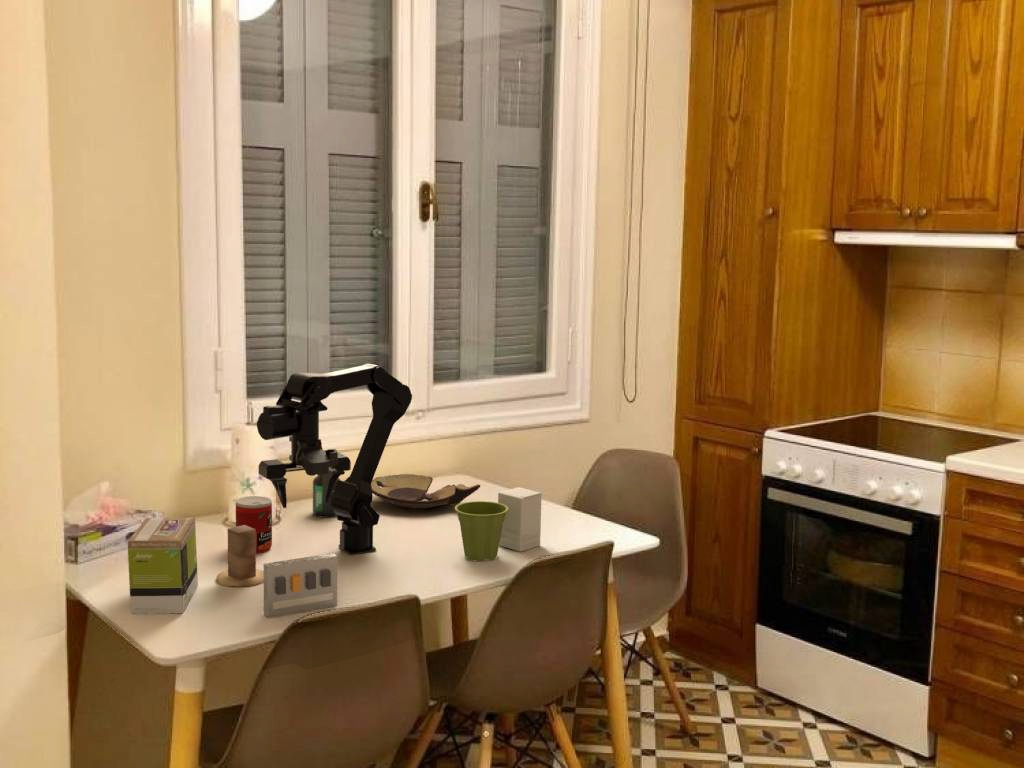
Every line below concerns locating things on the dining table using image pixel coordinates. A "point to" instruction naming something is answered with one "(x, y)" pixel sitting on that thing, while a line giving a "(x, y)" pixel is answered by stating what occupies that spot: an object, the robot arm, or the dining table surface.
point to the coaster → (230, 581)
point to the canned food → (256, 519)
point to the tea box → (162, 565)
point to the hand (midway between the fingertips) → (305, 505)
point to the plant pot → (481, 528)
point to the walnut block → (241, 552)
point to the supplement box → (521, 519)
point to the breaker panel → (300, 585)
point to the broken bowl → (418, 491)
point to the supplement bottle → (318, 504)
